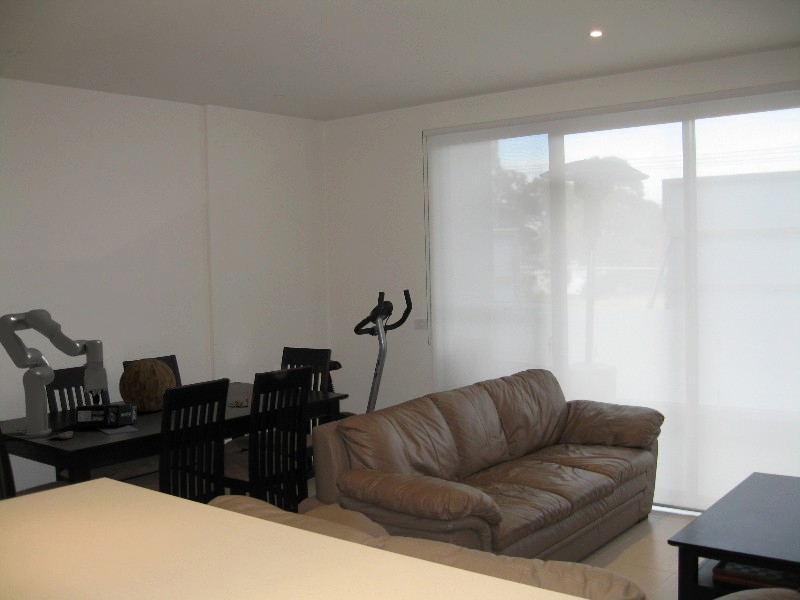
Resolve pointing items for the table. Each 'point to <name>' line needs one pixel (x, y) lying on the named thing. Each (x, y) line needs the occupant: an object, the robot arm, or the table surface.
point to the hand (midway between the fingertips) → (96, 403)
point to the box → (106, 415)
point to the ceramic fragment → (63, 435)
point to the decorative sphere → (146, 384)
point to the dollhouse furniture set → (248, 401)
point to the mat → (116, 429)
